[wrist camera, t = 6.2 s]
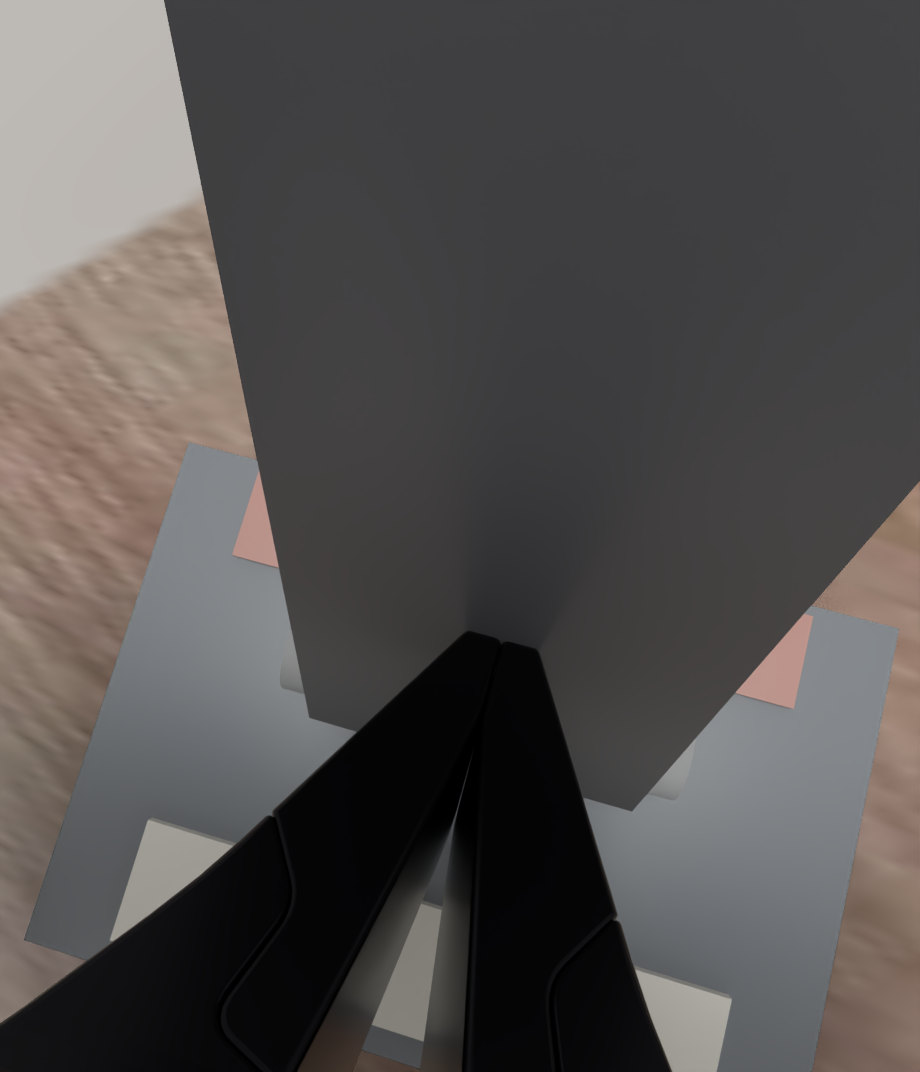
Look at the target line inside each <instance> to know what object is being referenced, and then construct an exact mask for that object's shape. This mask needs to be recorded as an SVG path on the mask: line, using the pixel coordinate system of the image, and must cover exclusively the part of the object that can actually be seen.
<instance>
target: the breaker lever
mask: <svg viewBox="0 0 920 1072" xmlns="http://www.w3.org/2000/svg"><path fill="white" fill-rule="evenodd" d="M164 2H165V7H166V12H167V16H168V22H169V26H170V32H171V37H172V42H173V46H174V52H175V56H176V61H177V66H178V71H179V76H180V81H181V86H182V91H183V96H184V101H185V106H186V111H187V116H188V121H189V126H190V131H191V135H192V141H193V146H194V151H195V155H196V160H197V165H198V170H199V175H200V180H201V185H202V190H203V195H204V200H205V205H206V210H207V215H208V220H209V225H210V230H211V235H212V240H213V244H214V249H215V254H216V259H217V264H218V269H219V274H220V279H221V284H222V289H223V294H224V299H225V304H226V309H227V314H228V319H229V324H230V329H231V334H232V338H233V343H234V348H235V353H236V358H237V363H238V368H239V373H240V378H241V383H242V388H243V393H244V398H245V403H246V408H247V413H248V418H249V423H250V427H251V432H252V437H253V442H254V447H255V452H256V457H257V462H258V467H259V472H260V477H261V482H262V487H263V492H264V497H265V502H266V507H267V512H268V516H269V521H270V526H271V531H272V536H273V541H274V546H275V551H276V556H277V561H278V566H279V571H280V576H281V581H282V586H283V591H284V596H285V601H286V606H287V610H288V615H289V620H290V625H291V632H290V635H289V638H288V640H287V643H286V647H285V650H284V654H283V658H282V663H281V669H280V684H281V687H282V688H284V689H287V690H291V691H294V692H298V693H301V694H304V695H305V699H306V704H307V709H308V714H309V718H311V719H314V720H318V721H321V722H325V723H328V724H332V725H335V726H339V727H342V728H345V729H349V730H352V731H356V732H357V731H358V730H359V729H361V728H362V727H363V726H364V725H365V724H366V723H367V722H368V721H369V720H370V719H371V718H372V717H373V716H375V715H376V714H377V713H378V712H379V711H380V710H381V709H382V708H383V707H384V706H385V705H386V704H387V703H388V702H390V701H391V700H392V699H393V698H394V697H395V696H396V695H397V694H398V693H399V692H400V691H401V690H402V689H404V688H405V687H406V686H407V685H408V684H409V683H410V682H411V681H412V680H413V679H414V678H415V677H416V676H418V675H419V674H420V673H421V672H422V671H423V670H424V669H425V668H426V667H427V666H428V665H429V664H430V663H432V662H433V661H434V660H435V659H436V658H437V657H438V656H439V655H440V654H441V653H442V652H443V651H444V650H445V649H447V648H448V647H449V646H450V645H451V644H452V643H453V642H454V641H455V640H456V639H457V638H458V637H459V636H461V635H462V634H463V633H464V632H466V631H473V632H477V633H480V634H484V635H487V636H491V637H495V638H497V639H499V640H500V642H501V645H502V643H503V642H506V641H509V642H513V643H517V644H520V645H524V646H528V647H531V648H535V649H537V650H538V651H539V653H540V656H541V659H542V662H543V666H544V669H545V672H546V676H547V679H548V682H549V686H550V689H551V692H552V696H553V699H554V702H555V706H556V709H557V712H558V716H559V719H560V722H561V726H562V729H563V732H564V736H565V739H566V742H567V746H568V749H569V752H570V756H571V759H572V763H573V766H574V769H575V773H576V776H577V779H578V783H579V786H580V789H581V793H582V796H583V798H587V799H590V800H593V801H597V802H600V803H604V804H607V805H611V806H614V807H618V808H621V809H624V810H628V811H631V812H632V811H633V810H634V809H635V808H636V806H637V805H638V804H639V803H640V802H641V801H642V800H643V798H644V797H645V796H646V795H647V794H648V793H649V794H652V795H655V796H659V797H662V798H666V799H669V800H675V799H677V797H678V796H679V795H680V793H681V791H682V789H683V787H684V785H685V782H686V780H687V777H688V774H689V770H690V766H691V763H692V758H693V753H694V747H695V740H696V737H697V736H698V735H699V734H700V733H701V732H702V731H703V729H704V728H705V727H706V726H707V725H708V724H709V723H710V721H711V720H712V719H713V718H714V717H715V716H716V714H717V713H718V712H719V711H720V710H721V709H722V708H723V706H724V705H725V704H726V703H727V702H728V701H729V700H730V698H731V697H732V696H733V695H734V694H735V693H736V691H737V690H738V689H739V688H740V687H741V686H742V685H743V683H744V682H745V681H746V680H747V679H748V678H749V677H750V675H751V674H752V673H753V672H754V671H755V670H756V668H757V667H758V666H759V665H760V664H761V663H762V662H763V660H764V659H765V658H766V657H767V656H768V655H769V654H770V652H771V651H772V650H773V649H774V648H775V647H776V645H777V644H778V643H779V642H780V641H781V640H782V639H783V637H784V636H785V635H786V634H787V633H788V632H789V631H790V629H791V628H792V627H793V626H794V625H795V624H796V622H797V621H798V620H799V619H800V618H801V617H802V616H803V614H804V613H805V612H806V611H807V610H808V609H809V608H810V606H811V605H812V604H813V603H814V602H815V601H816V599H817V598H818V597H819V596H820V595H821V594H822V593H823V591H824V590H825V589H826V588H827V587H828V586H829V585H830V583H831V582H832V581H833V580H834V579H835V578H836V576H837V575H838V574H839V573H840V572H841V571H842V570H843V568H844V567H845V566H846V565H847V564H848V563H849V562H850V560H851V559H852V558H853V557H854V556H855V555H856V553H857V552H858V551H859V550H860V549H861V548H862V547H863V545H864V544H865V543H866V542H867V541H868V540H869V538H870V537H871V536H872V535H873V534H874V533H875V532H876V530H877V529H878V528H879V527H880V526H881V525H882V524H883V522H884V521H885V520H886V519H887V518H888V517H889V515H890V514H891V513H892V512H893V511H894V510H895V509H896V507H897V506H898V505H899V504H900V503H901V502H902V501H903V499H904V498H905V497H906V496H907V495H908V494H909V492H910V491H911V490H912V489H913V488H914V487H915V486H916V484H917V483H918V482H919V481H920V0H164ZM500 648H501V647H500ZM499 652H500V651H499ZM498 656H499V654H498ZM497 659H498V658H497ZM496 663H497V662H496ZM495 667H496V666H495ZM492 678H493V677H492ZM471 757H472V756H471ZM470 761H471V760H470Z"/></svg>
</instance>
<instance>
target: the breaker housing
mask: <svg viewBox="0 0 920 1072" xmlns="http://www.w3.org/2000/svg"><path fill="white" fill-rule="evenodd" d="M290 632H291V625H290V620H289V615H288V610H287V606H286V601H285V596H284V591H283V586H282V581H281V576H280V571H279V566H278V561H277V556H276V551H275V546H274V541H273V536H272V531H271V526H270V521H269V516H268V512H267V507H266V502H265V497H264V492H263V487H262V482H261V477H260V472H259V467H258V462H257V460H254V459H251V458H247V457H243V456H239V455H235V454H232V453H228V452H224V451H220V450H216V449H213V448H209V447H205V446H201V445H197V444H194V443H190V442H189V444H188V447H187V450H186V453H185V456H184V459H183V462H182V465H181V468H180V471H179V474H178V477H177V480H176V483H175V486H174V489H173V492H172V495H171V498H170V501H169V504H168V507H167V510H166V513H165V516H164V519H163V522H162V525H161V528H160V531H159V534H158V537H157V540H156V543H155V546H154V549H153V552H152V555H151V558H150V562H149V565H148V568H147V571H146V574H145V577H144V580H143V583H142V586H141V589H140V592H139V595H138V598H137V601H136V604H135V607H134V610H133V613H132V616H131V619H130V622H129V625H128V628H127V631H126V634H125V637H124V640H123V643H122V646H121V649H120V652H119V655H118V658H117V661H116V664H115V667H114V670H113V673H112V676H111V679H110V682H109V685H108V688H107V691H106V694H105V697H104V700H103V703H102V706H101V709H100V712H99V715H98V718H97V721H96V724H95V727H94V730H93V733H92V736H91V739H90V742H89V745H88V748H87V751H86V754H85V757H84V760H83V763H82V766H81V769H80V772H79V775H78V779H77V782H76V785H75V788H74V791H73V794H72V797H71V800H70V803H69V806H68V809H67V812H66V815H65V818H64V821H63V824H62V827H61V830H60V833H59V836H58V839H57V842H56V845H55V848H54V851H53V854H52V857H51V860H50V863H49V866H48V869H47V872H46V875H45V878H44V881H43V884H42V887H41V890H40V893H39V896H38V899H37V902H36V905H35V908H34V911H33V914H32V917H31V920H30V923H29V926H28V929H27V932H26V935H25V938H24V940H25V941H28V942H31V943H35V944H38V945H41V946H44V947H47V948H50V949H53V950H56V951H59V952H62V953H65V954H68V955H71V956H74V957H77V958H81V959H84V960H88V959H90V958H91V957H92V956H94V955H95V954H96V953H98V952H99V951H100V950H102V949H103V948H104V947H106V946H107V945H109V944H110V943H111V942H113V941H114V940H115V939H117V938H118V937H119V936H121V935H122V934H123V933H125V932H126V931H128V930H129V929H130V928H132V927H133V926H134V925H136V924H137V923H138V922H140V921H141V920H142V919H144V918H145V917H147V916H148V915H149V914H151V913H152V912H153V911H154V910H156V909H157V908H158V907H160V906H161V905H162V904H163V903H165V902H166V901H167V900H169V899H170V898H171V897H172V896H174V895H175V894H176V893H178V892H179V891H180V890H181V889H183V888H184V887H185V886H187V885H188V884H189V883H191V882H192V881H193V880H194V879H196V878H197V877H198V876H199V875H201V874H202V873H203V872H204V871H205V870H206V869H207V868H209V867H210V866H211V865H212V864H213V863H214V862H215V861H217V860H218V859H219V858H220V857H221V856H222V855H224V854H225V853H226V852H227V851H228V850H229V849H230V848H232V847H233V846H234V845H235V844H236V843H237V842H238V841H240V840H241V839H242V838H243V837H244V836H245V835H246V834H247V833H248V832H249V831H250V830H251V829H252V828H254V827H255V826H256V825H257V824H258V823H259V822H260V821H261V820H262V819H263V818H264V817H265V816H267V815H271V816H272V811H273V810H274V808H276V807H277V806H278V805H279V804H280V803H281V802H282V801H283V800H284V799H285V798H286V797H287V796H288V795H290V794H291V793H292V792H293V791H294V790H295V789H296V788H297V787H298V786H299V785H300V784H301V783H302V782H304V781H305V780H306V779H307V778H308V777H309V776H310V775H311V774H312V773H313V772H314V771H315V770H316V769H317V768H319V767H320V766H321V765H322V764H323V763H324V762H325V761H326V760H327V759H328V758H329V757H330V756H331V755H333V754H334V753H335V752H336V751H337V750H338V749H339V748H340V747H341V746H342V745H343V744H344V743H345V742H347V741H348V740H349V739H350V738H351V737H352V736H353V735H354V734H355V733H356V731H352V730H349V729H345V728H342V727H339V726H335V725H332V724H328V723H325V722H321V721H318V720H314V719H311V718H309V714H308V709H307V704H306V699H305V695H304V694H301V693H298V692H294V691H291V690H287V689H284V688H282V687H281V684H280V669H281V663H282V658H283V654H284V650H285V647H286V643H287V640H288V638H289V635H290ZM898 632H899V629H898V628H894V627H891V626H887V625H883V624H879V623H875V622H871V621H868V620H864V619H860V618H856V617H852V616H849V615H845V614H841V613H837V612H833V611H830V610H826V609H822V608H818V607H814V606H810V608H809V609H808V610H807V611H806V612H805V613H804V614H803V616H802V617H801V618H800V619H799V620H798V621H797V622H796V624H795V625H794V626H793V627H792V628H791V629H790V631H789V632H788V633H787V634H786V635H785V636H784V637H783V639H782V640H781V641H780V642H779V643H778V644H777V645H776V647H775V648H774V649H773V650H772V651H771V652H770V654H769V655H768V656H767V657H766V658H765V659H764V660H763V662H762V663H761V664H760V665H759V666H758V667H757V668H756V670H755V671H754V672H753V673H752V674H751V675H750V677H749V678H748V679H747V680H746V681H745V682H744V683H743V685H742V686H741V687H740V688H739V689H738V690H737V691H736V693H735V694H734V695H733V696H732V697H731V698H730V700H729V701H728V702H727V703H726V704H725V705H724V706H723V708H722V709H721V710H720V711H719V712H718V713H717V714H716V716H715V717H714V718H713V719H712V720H711V721H710V723H709V724H708V725H707V726H706V727H705V728H704V729H703V731H702V732H701V733H700V734H699V735H698V736H697V737H696V740H695V747H694V753H693V758H692V763H691V766H690V770H689V774H688V777H687V780H686V782H685V785H684V787H683V789H682V791H681V793H680V795H679V796H678V797H677V799H675V800H669V799H666V798H662V797H659V796H655V795H652V794H649V793H648V794H647V795H646V796H645V797H644V798H643V800H642V801H641V802H640V803H639V804H638V805H637V806H636V808H635V809H634V810H633V811H632V812H631V811H628V810H624V809H621V808H618V807H614V806H611V805H607V804H604V803H600V802H597V801H593V800H590V799H587V798H583V799H584V803H585V806H586V809H587V813H588V816H589V819H590V823H591V826H592V829H593V833H594V836H595V839H596V843H597V846H598V849H599V853H600V856H601V860H602V863H603V866H604V870H605V873H606V876H607V880H608V883H609V886H610V890H611V893H612V896H613V900H614V903H615V906H616V910H617V913H618V916H617V918H616V920H617V921H619V922H620V923H621V925H622V928H623V932H624V935H625V939H626V942H627V945H628V949H629V952H630V955H631V959H632V962H633V965H634V968H635V971H636V974H637V977H638V980H639V983H640V986H641V989H642V992H643V995H644V998H645V1001H646V1004H647V1007H648V1010H649V1013H650V1016H651V1019H652V1021H653V1024H654V1026H655V1029H656V1031H657V1034H658V1037H659V1039H660V1042H661V1044H662V1047H663V1049H664V1052H665V1054H666V1057H667V1059H668V1062H669V1064H670V1067H671V1070H672V1072H812V1069H813V1064H814V1058H815V1053H816V1048H817V1043H818V1038H819V1033H820V1028H821V1023H822V1018H823V1013H824V1008H825V1003H826V998H827V992H828V987H829V982H830V977H831V972H832V967H833V962H834V957H835V952H836V947H837V942H838V937H839V932H840V926H841V921H842V916H843V911H844V906H845V901H846V896H847V891H848V886H849V881H850V876H851V871H852V866H853V860H854V855H855V850H856V845H857V840H858V835H859V830H860V825H861V820H862V815H863V810H864V805H865V800H866V794H867V789H868V784H869V779H870V774H871V769H872V764H873V759H874V754H875V749H876V744H877V739H878V734H879V728H880V723H881V718H882V713H883V708H884V703H885V698H886V693H887V688H888V683H889V678H890V673H891V668H892V662H893V657H894V652H895V647H896V642H897V637H898ZM468 768H469V767H468ZM467 772H468V771H467ZM466 776H467V775H466ZM465 780H466V779H465ZM464 784H465V782H464ZM463 787H464V786H463ZM462 791H463V790H462ZM461 795H462V794H461ZM460 799H461V797H460ZM459 803H460V801H459ZM458 807H459V805H458ZM457 811H458V808H457ZM456 815H457V812H456ZM456 815H455V818H454V821H453V825H452V828H451V830H450V833H449V836H448V838H447V841H446V844H445V846H444V849H443V851H442V854H441V856H440V859H439V861H438V864H437V866H436V868H435V871H434V873H433V876H432V878H431V881H430V883H429V886H428V888H427V890H426V893H425V895H424V898H423V900H422V903H421V905H420V908H419V910H418V912H417V915H416V917H415V920H414V922H413V925H412V927H411V930H410V932H409V935H408V937H407V939H406V942H405V944H404V947H403V949H402V952H401V954H400V957H399V959H398V961H397V964H396V966H395V969H394V971H393V974H392V976H391V979H390V981H389V983H388V986H387V988H386V991H385V993H384V996H383V998H382V1001H381V1003H380V1005H379V1008H378V1010H377V1013H376V1015H375V1018H374V1020H373V1023H372V1025H371V1028H370V1030H369V1032H368V1035H367V1037H366V1040H365V1042H364V1045H363V1047H362V1050H363V1051H366V1052H369V1053H372V1054H375V1055H378V1056H381V1057H384V1058H387V1059H390V1060H393V1061H396V1062H399V1063H403V1064H406V1065H409V1066H412V1067H415V1068H418V1069H420V1064H421V1057H422V1050H423V1043H424V1035H425V1028H426V1021H427V1013H428V1006H429V999H430V992H431V984H432V977H433V970H434V963H435V955H436V948H437V941H438V933H439V926H440V919H441V912H442V904H443V897H444V890H445V882H446V875H447V868H448V861H449V853H450V846H451V840H452V835H453V829H454V824H455V819H456Z"/></svg>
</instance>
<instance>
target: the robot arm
mask: <svg viewBox="0 0 920 1072" xmlns="http://www.w3.org/2000/svg"><path fill="white" fill-rule="evenodd" d="M500 647H501V648H500ZM499 651H500V652H499ZM498 654H499V656H498ZM497 658H498V659H497ZM496 662H497V663H496ZM495 666H496V667H495ZM492 677H493V678H492ZM471 756H472V757H471ZM470 760H471V761H470ZM468 767H469V768H468ZM467 771H468V772H467ZM466 775H467V776H466ZM465 779H466V780H465ZM464 782H465V784H464ZM463 786H464V787H463ZM462 790H463V791H462ZM461 794H462V795H461ZM460 797H461V799H460ZM459 801H460V803H459ZM458 805H459V807H458ZM457 808H458V811H457ZM456 812H457V815H456ZM455 815H456V819H455V824H454V829H453V835H452V840H451V846H450V853H449V861H448V868H447V875H446V882H445V890H444V897H443V904H442V912H441V919H440V926H439V933H438V941H437V948H436V955H435V963H434V970H433V977H432V984H431V992H430V999H429V1006H428V1013H427V1021H426V1028H425V1035H424V1043H423V1050H422V1057H421V1064H420V1072H672V1070H671V1067H670V1064H669V1062H668V1059H667V1057H666V1054H665V1052H664V1049H663V1047H662V1044H661V1042H660V1039H659V1037H658V1034H657V1031H656V1029H655V1026H654V1024H653V1021H652V1019H651V1016H650V1013H649V1010H648V1007H647V1004H646V1001H645V998H644V995H643V992H642V989H641V986H640V983H639V980H638V977H637V974H636V971H635V968H634V965H633V962H632V959H631V955H630V952H629V949H628V945H627V942H626V939H625V935H624V932H623V928H622V925H621V923H620V922H619V921H617V920H616V918H617V916H618V913H617V910H616V906H615V903H614V900H613V896H612V893H611V890H610V886H609V883H608V880H607V876H606V873H605V870H604V866H603V863H602V860H601V856H600V853H599V849H598V846H597V843H596V839H595V836H594V833H593V829H592V826H591V823H590V819H589V816H588V813H587V809H586V806H585V803H584V799H583V796H582V793H581V789H580V786H579V783H578V779H577V776H576V773H575V769H574V766H573V763H572V759H571V756H570V752H569V749H568V746H567V742H566V739H565V736H564V732H563V729H562V726H561V722H560V719H559V716H558V712H557V709H556V706H555V702H554V699H553V696H552V692H551V689H550V686H549V682H548V679H547V676H546V672H545V669H544V666H543V662H542V659H541V656H540V653H539V651H538V650H537V649H535V648H531V647H528V646H524V645H520V644H517V643H513V642H509V641H506V642H503V643H502V645H501V642H500V640H499V639H497V638H495V637H491V636H487V635H484V634H480V633H477V632H473V631H466V632H464V633H463V634H462V635H461V636H459V637H458V638H457V639H456V640H455V641H454V642H453V643H452V644H451V645H450V646H449V647H448V648H447V649H445V650H444V651H443V652H442V653H441V654H440V655H439V656H438V657H437V658H436V659H435V660H434V661H433V662H432V663H430V664H429V665H428V666H427V667H426V668H425V669H424V670H423V671H422V672H421V673H420V674H419V675H418V676H416V677H415V678H414V679H413V680H412V681H411V682H410V683H409V684H408V685H407V686H406V687H405V688H404V689H402V690H401V691H400V692H399V693H398V694H397V695H396V696H395V697H394V698H393V699H392V700H391V701H390V702H388V703H387V704H386V705H385V706H384V707H383V708H382V709H381V710H380V711H379V712H378V713H377V714H376V715H375V716H373V717H372V718H371V719H370V720H369V721H368V722H367V723H366V724H365V725H364V726H363V727H362V728H361V729H359V730H358V731H357V732H356V733H355V734H354V735H353V736H352V737H351V738H350V739H349V740H348V741H347V742H345V743H344V744H343V745H342V746H341V747H340V748H339V749H338V750H337V751H336V752H335V753H334V754H333V755H331V756H330V757H329V758H328V759H327V760H326V761H325V762H324V763H323V764H322V765H321V766H320V767H319V768H317V769H316V770H315V771H314V772H313V773H312V774H311V775H310V776H309V777H308V778H307V779H306V780H305V781H304V782H302V783H301V784H300V785H299V786H298V787H297V788H296V789H295V790H294V791H293V792H292V793H291V794H290V795H288V796H287V797H286V798H285V799H284V800H283V801H282V802H281V803H280V804H279V805H278V806H277V807H276V808H274V810H273V811H272V816H271V815H267V816H265V817H264V818H263V819H262V820H261V821H260V822H259V823H258V824H257V825H256V826H255V827H254V828H252V829H251V830H250V831H249V832H248V833H247V834H246V835H245V836H244V837H243V838H242V839H241V840H240V841H238V842H237V843H236V844H235V845H234V846H233V847H232V848H230V849H229V850H228V851H227V852H226V853H225V854H224V855H222V856H221V857H220V858H219V859H218V860H217V861H215V862H214V863H213V864H212V865H211V866H210V867H209V868H207V869H206V870H205V871H204V872H203V873H202V874H201V875H199V876H198V877H197V878H196V879H194V880H193V881H192V882H191V883H189V884H188V885H187V886H185V887H184V888H183V889H181V890H180V891H179V892H178V893H176V894H175V895H174V896H172V897H171V898H170V899H169V900H167V901H166V902H165V903H163V904H162V905H161V906H160V907H158V908H157V909H156V910H154V911H153V912H152V913H151V914H149V915H148V916H147V917H145V918H144V919H142V920H141V921H140V922H138V923H137V924H136V925H134V926H133V927H132V928H130V929H129V930H128V931H126V932H125V933H123V934H122V935H121V936H119V937H118V938H117V939H115V940H114V941H113V942H111V943H110V944H109V945H107V946H106V947H104V948H103V949H102V950H100V951H99V952H98V953H96V954H95V955H94V956H92V957H91V958H90V959H88V960H87V961H85V962H84V963H83V964H81V965H80V966H79V967H77V968H76V969H75V970H73V971H72V972H71V973H69V974H68V975H66V976H65V977H64V978H62V979H61V980H60V981H58V982H57V983H56V984H54V985H53V986H52V987H50V988H49V989H47V990H46V991H45V992H43V993H42V994H41V995H39V996H38V997H37V998H35V999H34V1000H33V1001H31V1002H30V1003H28V1004H27V1005H26V1006H24V1007H23V1008H22V1009H20V1010H19V1011H17V1012H16V1013H14V1014H13V1015H12V1016H10V1017H9V1018H7V1019H6V1020H5V1021H3V1022H2V1023H0V1072H353V1069H354V1067H355V1064H356V1062H357V1059H358V1057H359V1054H360V1052H361V1050H362V1047H363V1045H364V1042H365V1040H366V1037H367V1035H368V1032H369V1030H370V1028H371V1025H372V1023H373V1020H374V1018H375V1015H376V1013H377V1010H378V1008H379V1005H380V1003H381V1001H382V998H383V996H384V993H385V991H386V988H387V986H388V983H389V981H390V979H391V976H392V974H393V971H394V969H395V966H396V964H397V961H398V959H399V957H400V954H401V952H402V949H403V947H404V944H405V942H406V939H407V937H408V935H409V932H410V930H411V927H412V925H413V922H414V920H415V917H416V915H417V912H418V910H419V908H420V905H421V903H422V900H423V898H424V895H425V893H426V890H427V888H428V886H429V883H430V881H431V878H432V876H433V873H434V871H435V868H436V866H437V864H438V861H439V859H440V856H441V854H442V851H443V849H444V846H445V844H446V841H447V838H448V836H449V833H450V830H451V828H452V825H453V821H454V818H455Z"/></svg>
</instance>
